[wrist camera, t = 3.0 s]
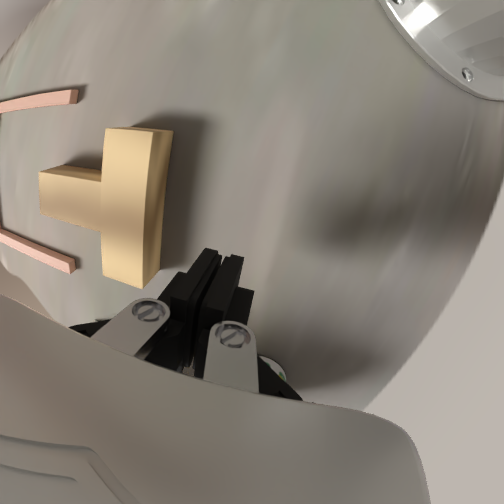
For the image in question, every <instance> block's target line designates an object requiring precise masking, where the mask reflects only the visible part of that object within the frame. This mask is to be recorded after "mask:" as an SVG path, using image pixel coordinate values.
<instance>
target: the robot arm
mask: <svg viewBox="0 0 504 504" xmlns="http://www.w3.org/2000/svg"><path fill="white" fill-rule="evenodd" d="M378 1H379V2H380V4H381V6H382V7H383V9H384V11H385V13H386V14H387V16H388V18H389V19H390V20H391V22H392V23H393V24H394V26H395V27H396V29H397V30H398V31H399V33H400V34H401V35H402V36H403V38H404V39H405V40H406V41H407V42H408V43H409V44H410V46H411V47H412V48H413V49H414V50H415V51H416V52H417V53H418V54H419V55H420V56H421V57H422V58H423V59H424V60H425V61H426V62H427V63H428V64H429V65H430V66H431V67H432V68H433V69H435V70H436V71H437V72H438V73H440V74H441V75H442V76H443V77H444V78H446V79H447V80H448V81H450V82H452V83H453V84H455V85H456V86H458V87H459V88H461V89H462V90H464V91H466V92H468V93H470V94H473V95H475V96H477V97H480V98H484V99H488V100H504V0H378ZM221 260H222V255H219V254H218V251H217V250H212V249H208V248H205V249H204V250H203V251H202V253H201V254H200V255H199V257H198V258H197V260H196V261H195V262H194V264H193V265H192V266H191V268H190V269H189V271H188V272H187V273H183V272H178V273H177V274H176V275H175V277H174V278H173V279H172V280H171V282H170V283H169V284H168V286H167V287H166V288H165V289H164V291H163V292H162V293H161V295H160V296H159V297H158V299H153V298H141V299H138V300H135V301H134V302H132V303H131V304H129V305H128V306H127V307H126V308H125V309H123V310H122V311H121V312H120V313H119V314H117V315H116V316H115V317H114V318H113V319H109V320H104V321H98V322H92V323H86V324H80V325H75V326H71V327H69V328H68V327H66V326H64V325H62V324H60V323H58V322H56V321H54V320H52V319H51V318H48V317H47V316H45V315H43V314H41V313H39V312H38V311H36V310H34V309H32V308H30V307H28V306H26V305H24V304H22V303H21V302H19V301H17V300H15V299H12V298H10V297H8V296H5V295H2V294H0V504H430V496H429V491H428V487H427V482H426V477H425V473H424V469H423V466H422V462H421V459H420V456H419V454H418V451H417V449H416V446H415V444H414V442H413V441H412V439H411V437H410V436H409V435H408V434H407V432H406V431H405V430H403V429H402V428H401V427H399V426H398V425H396V424H394V423H393V422H391V421H389V420H386V419H383V418H381V417H378V416H376V415H373V414H369V413H366V412H362V411H358V410H353V409H348V408H343V407H337V406H330V405H323V404H317V403H314V402H312V403H311V402H305V401H303V400H302V398H301V397H300V396H299V395H298V394H297V393H296V392H295V391H294V390H293V389H292V388H291V387H290V386H289V385H288V384H287V383H286V382H285V381H284V380H283V379H282V378H281V377H280V376H279V375H278V374H277V373H276V372H275V371H274V370H273V369H272V368H271V367H270V366H269V365H268V364H267V363H266V362H265V361H264V360H263V359H262V358H261V357H260V356H259V355H258V354H257V351H256V338H255V334H254V333H253V331H252V330H251V329H250V328H249V327H247V322H248V317H249V313H250V308H251V304H252V299H253V295H254V291H253V290H249V289H245V288H241V287H238V284H239V279H240V275H241V270H242V265H243V261H244V257H241V256H237V255H233V254H231V256H230V257H227V256H226V257H225V258H224V260H223V262H222V264H221ZM193 357H194V361H193V369H195V371H194V376H195V377H193V376H190V375H187V374H183V373H182V371H183V368H184V366H185V367H190V364H191V362H192V360H193Z"/></svg>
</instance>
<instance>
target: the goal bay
mask: <svg viewBox="0 0 504 504" xmlns="http://www.w3.org/2000/svg"><path fill="white" fill-rule="evenodd" d="M78 92H79V90H64V91H56V92H49V93H43V94H38V95H32V96H27V97H22V98H18V99H13V100H9V101H5V102H1V103H0V113H4V112H10V111H15V110H22V109H28V108H36V107H44V106H54V105H65V104H77V98H78ZM0 241H1V242H3V243H5V244H7V245H9V246H10V247H12V248H14V249H16V250H18V251H20V252H22V253H24V254H27V255H29V256H31V257H33V258H35V259H37V260H39V261H41V262H43V263H46V264H48V265H50V266H52V267H55V268H57V269H59V270H61V271H64V272H66V273H68V274H71V273H72V272H74V271H75V270H76V267H75V259H73V258H70V257H68V256H65V255H63V254H60V253H57V252H55V251H53V250H50V249H48V248H45V247H43V246H40V245H38V244H36V243H33V242H31V241H29V240H26V239H24V238H22V237H19V236H17V235H15V234H13V233H10V232H8V231H6V230H4V229H2V228H1V224H0Z"/></svg>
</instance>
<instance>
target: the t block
mask: <svg viewBox="0 0 504 504" xmlns="http://www.w3.org/2000/svg"><path fill="white" fill-rule="evenodd" d="M173 133H174V131H168V130H159V129H149V128H138V127H118V128H106V130H105V139H104V149H103V161H102V170H95V169H88V168H81V167H74V166H67V165H61V166H57V167H54V168H50V169H47V170H43V171H40V172H39V200H40V214H42V215H45V216H49V217H52V218H55V219H58V220H62V221H65V222H68V223H72V224H75V225H78V226H82V227H85V228H89V229H92V230H95V231H99V232H101V250H102V266H103V275H104V276H107V277H109V278H112V279H115V280H118V281H120V282H123V283H126V284H129V285H132V286H135V287H138V288H141V289H143V288H144V287H145V286H146V285H147V283H148V282H149V281H150V280H151V279H152V278H153V277H154V276H155V275H156V273H157V272H158V271H159V270H160V252H161V236H162V222H163V211H164V201H165V191H166V182H167V174H168V166H169V159H170V152H171V145H172V139H173Z"/></svg>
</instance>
